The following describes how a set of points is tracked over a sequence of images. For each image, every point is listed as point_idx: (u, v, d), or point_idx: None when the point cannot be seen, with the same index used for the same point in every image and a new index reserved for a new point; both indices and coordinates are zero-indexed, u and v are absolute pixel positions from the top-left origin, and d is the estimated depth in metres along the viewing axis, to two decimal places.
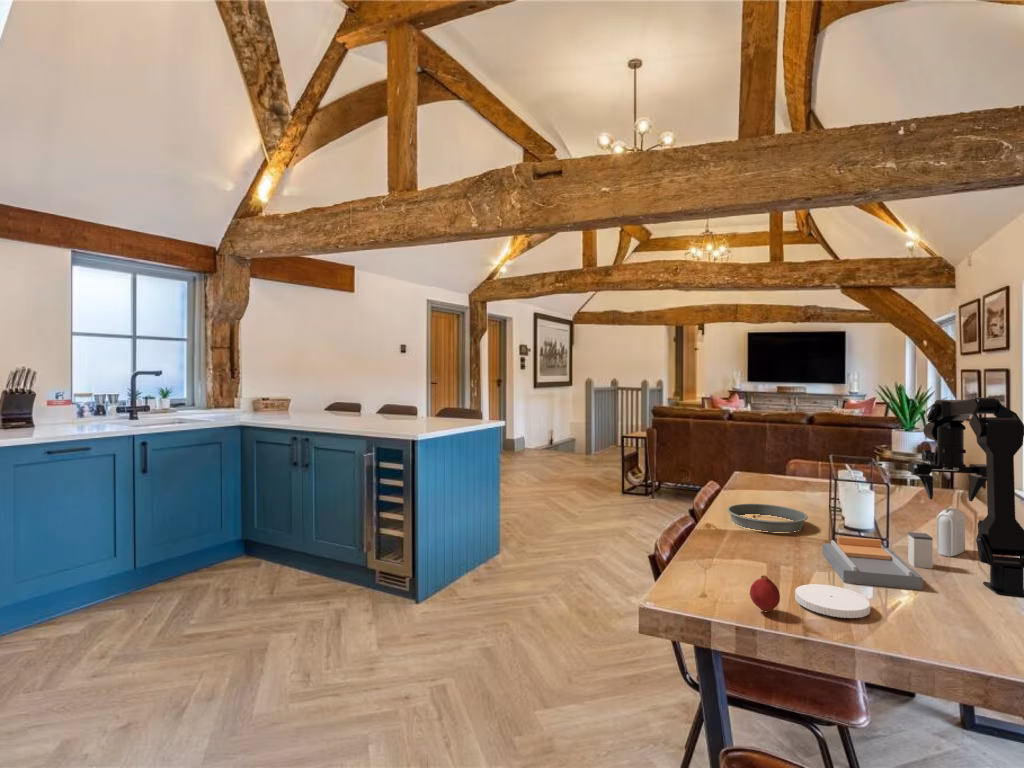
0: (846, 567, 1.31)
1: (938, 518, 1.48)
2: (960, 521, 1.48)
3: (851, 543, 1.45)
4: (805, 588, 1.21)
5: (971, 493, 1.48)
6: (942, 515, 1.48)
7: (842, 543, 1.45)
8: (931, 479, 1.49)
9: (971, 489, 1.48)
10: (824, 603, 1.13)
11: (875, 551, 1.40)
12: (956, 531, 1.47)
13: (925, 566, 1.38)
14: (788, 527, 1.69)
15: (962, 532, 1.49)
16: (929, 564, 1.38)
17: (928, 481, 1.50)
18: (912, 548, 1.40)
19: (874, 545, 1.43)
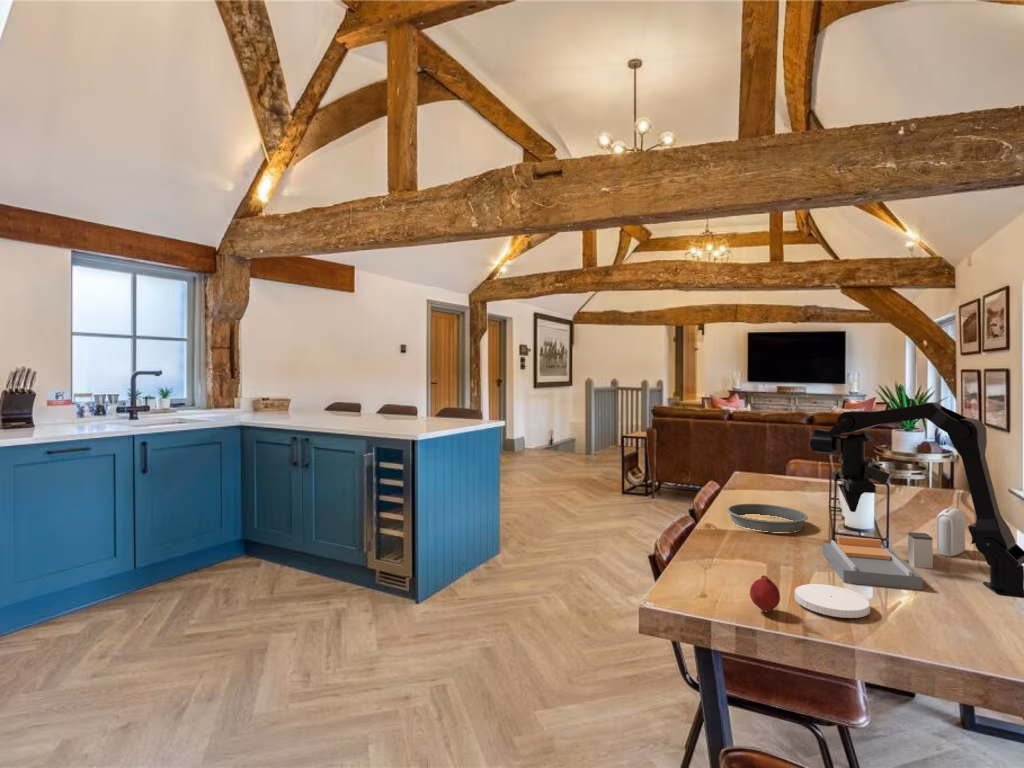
0: (846, 567, 1.31)
1: (938, 518, 1.48)
2: (960, 521, 1.48)
3: (851, 543, 1.45)
4: (805, 588, 1.21)
5: None
6: (942, 515, 1.48)
7: (842, 543, 1.45)
8: (840, 488, 1.52)
9: None
10: (824, 602, 1.13)
11: (875, 551, 1.40)
12: (956, 531, 1.47)
13: (925, 566, 1.38)
14: (788, 527, 1.69)
15: (962, 532, 1.49)
16: (929, 564, 1.38)
17: (841, 490, 1.52)
18: (912, 548, 1.40)
19: (874, 545, 1.43)
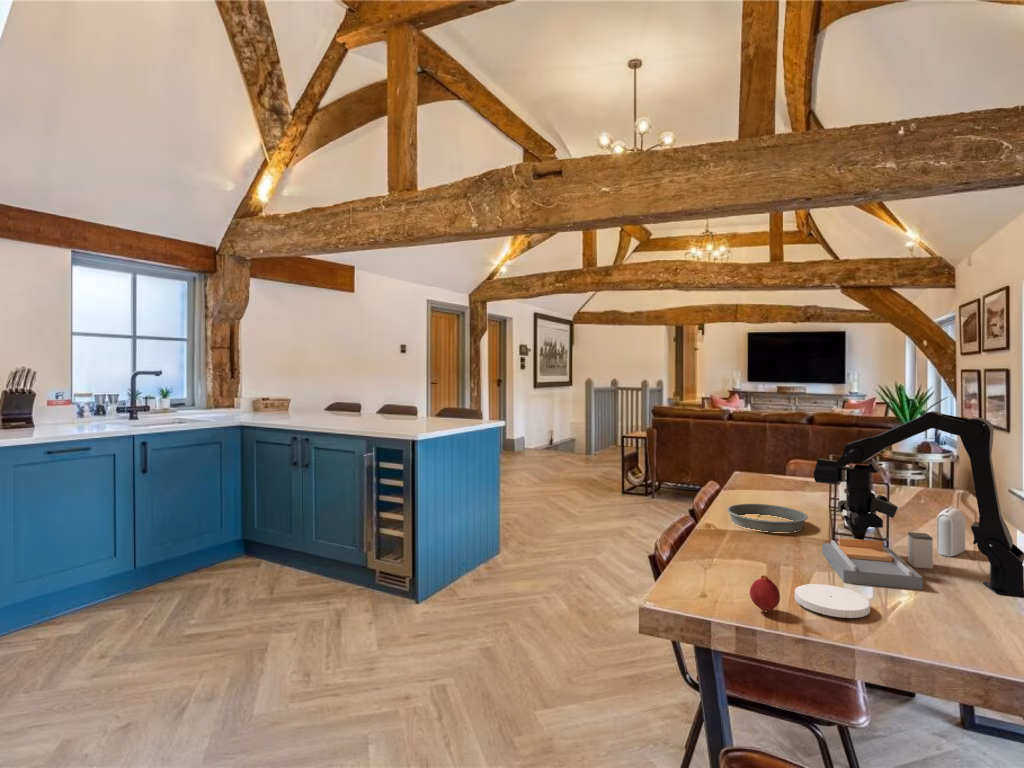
0: (846, 567, 1.31)
1: (938, 518, 1.48)
2: (960, 521, 1.48)
3: (853, 545, 1.43)
4: (805, 588, 1.21)
5: None
6: (942, 515, 1.48)
7: (843, 544, 1.44)
8: (846, 521, 1.47)
9: None
10: (824, 602, 1.13)
11: (877, 552, 1.38)
12: (956, 531, 1.47)
13: (925, 566, 1.38)
14: (788, 527, 1.69)
15: (962, 532, 1.49)
16: (929, 564, 1.38)
17: (846, 522, 1.47)
18: (912, 548, 1.40)
19: (876, 547, 1.42)
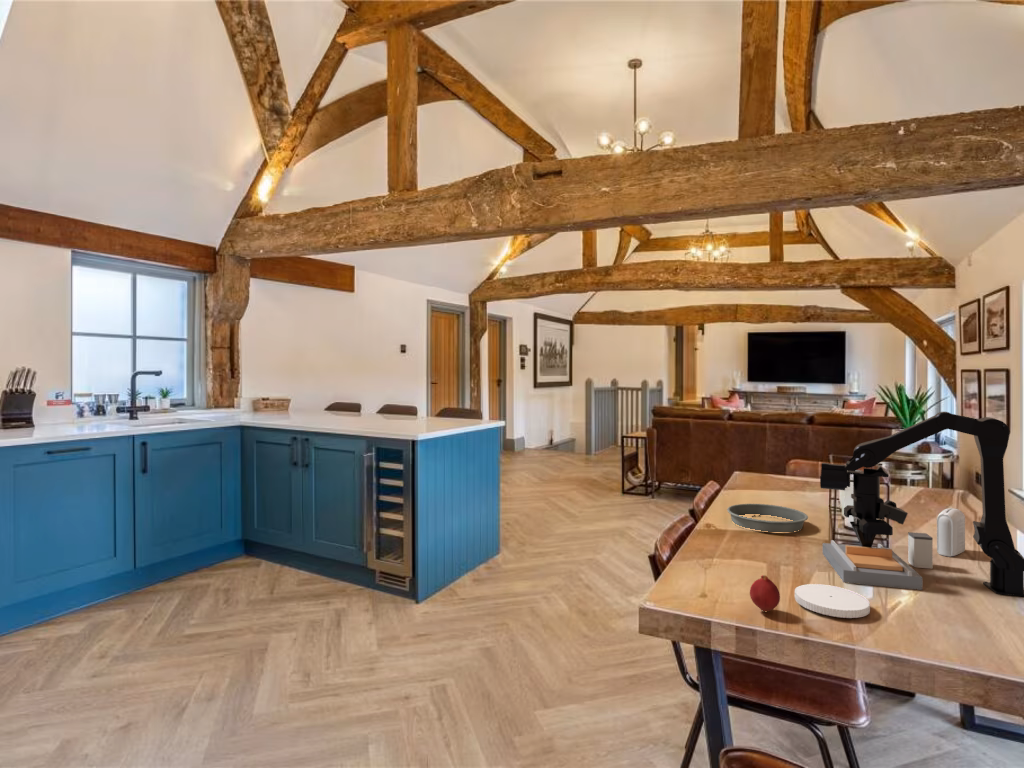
0: (846, 567, 1.31)
1: (938, 518, 1.48)
2: (960, 521, 1.48)
3: (861, 553, 1.37)
4: (805, 588, 1.21)
5: None
6: (942, 515, 1.48)
7: (850, 553, 1.37)
8: (853, 527, 1.40)
9: None
10: (824, 602, 1.13)
11: (886, 561, 1.32)
12: (956, 531, 1.47)
13: (925, 566, 1.38)
14: (788, 527, 1.69)
15: (962, 532, 1.49)
16: (929, 564, 1.38)
17: None
18: (912, 548, 1.40)
19: (884, 555, 1.35)
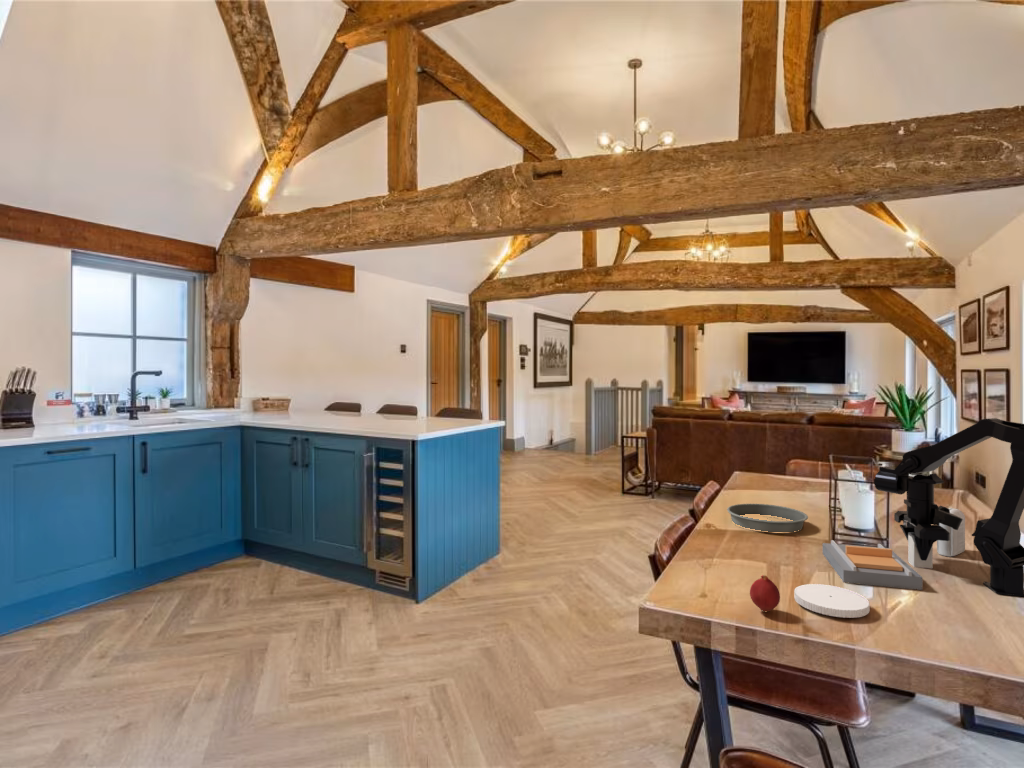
0: (846, 567, 1.31)
1: None
2: None
3: (861, 553, 1.37)
4: (804, 588, 1.21)
5: None
6: None
7: (850, 553, 1.37)
8: (903, 530, 1.44)
9: None
10: (823, 602, 1.13)
11: (886, 561, 1.32)
12: (956, 531, 1.47)
13: (925, 566, 1.38)
14: (788, 527, 1.69)
15: (962, 532, 1.49)
16: (929, 564, 1.38)
17: (903, 532, 1.45)
18: (912, 548, 1.40)
19: (884, 555, 1.35)
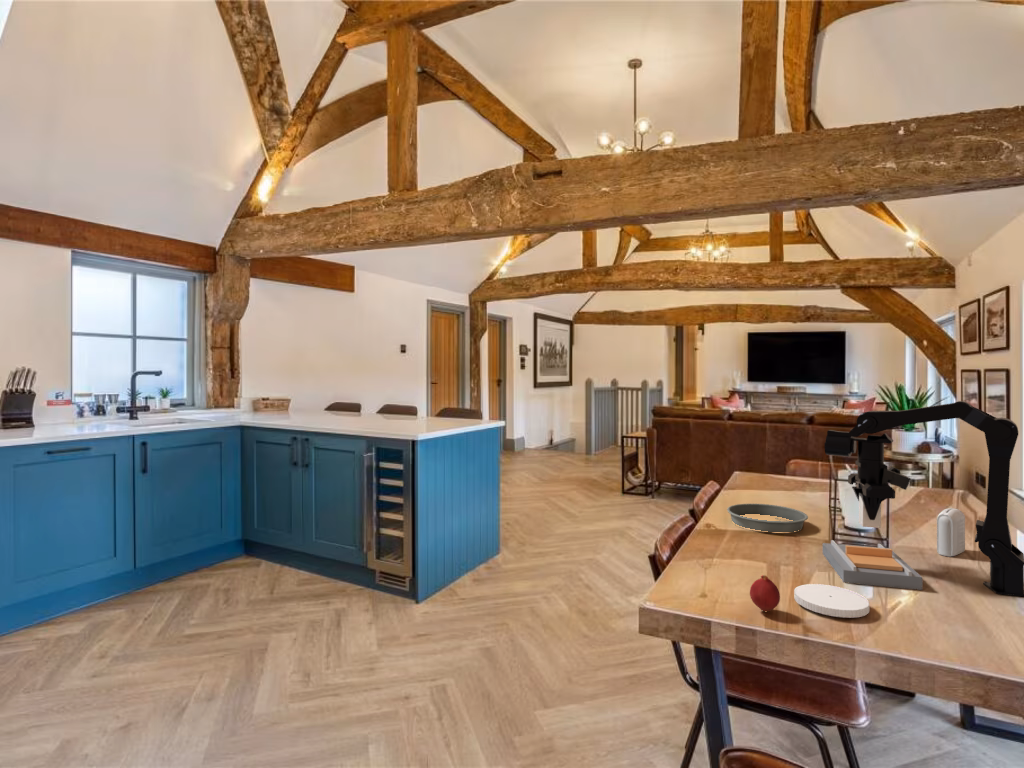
0: (846, 567, 1.31)
1: (938, 518, 1.48)
2: (960, 521, 1.48)
3: (861, 553, 1.37)
4: (804, 588, 1.21)
5: None
6: (942, 515, 1.48)
7: (850, 553, 1.37)
8: (855, 491, 1.45)
9: None
10: (823, 602, 1.13)
11: (886, 561, 1.32)
12: (956, 531, 1.47)
13: (873, 525, 1.39)
14: (788, 527, 1.69)
15: (962, 532, 1.49)
16: (877, 523, 1.39)
17: (855, 493, 1.45)
18: (861, 508, 1.41)
19: (884, 555, 1.35)
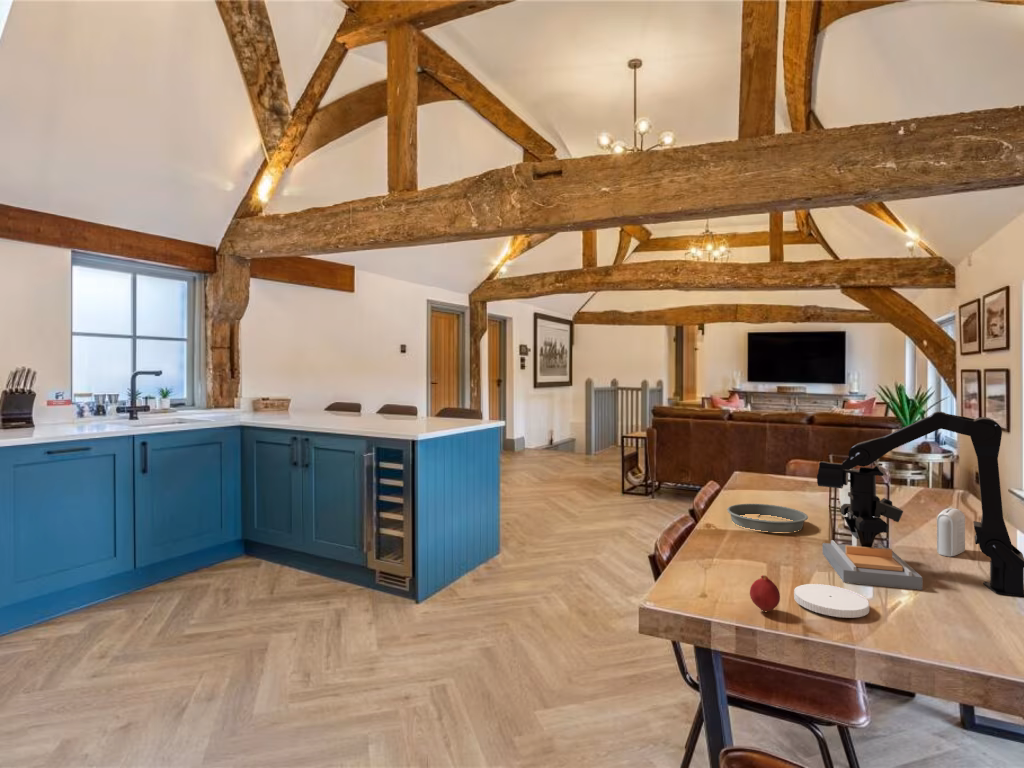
0: (846, 567, 1.31)
1: (938, 518, 1.48)
2: (960, 521, 1.48)
3: (861, 553, 1.37)
4: (804, 588, 1.21)
5: None
6: (942, 515, 1.48)
7: (850, 553, 1.37)
8: (847, 522, 1.46)
9: None
10: (823, 602, 1.13)
11: (886, 561, 1.32)
12: (956, 531, 1.47)
13: None
14: (788, 527, 1.69)
15: (962, 532, 1.49)
16: None
17: (847, 524, 1.46)
18: None
19: (884, 555, 1.35)
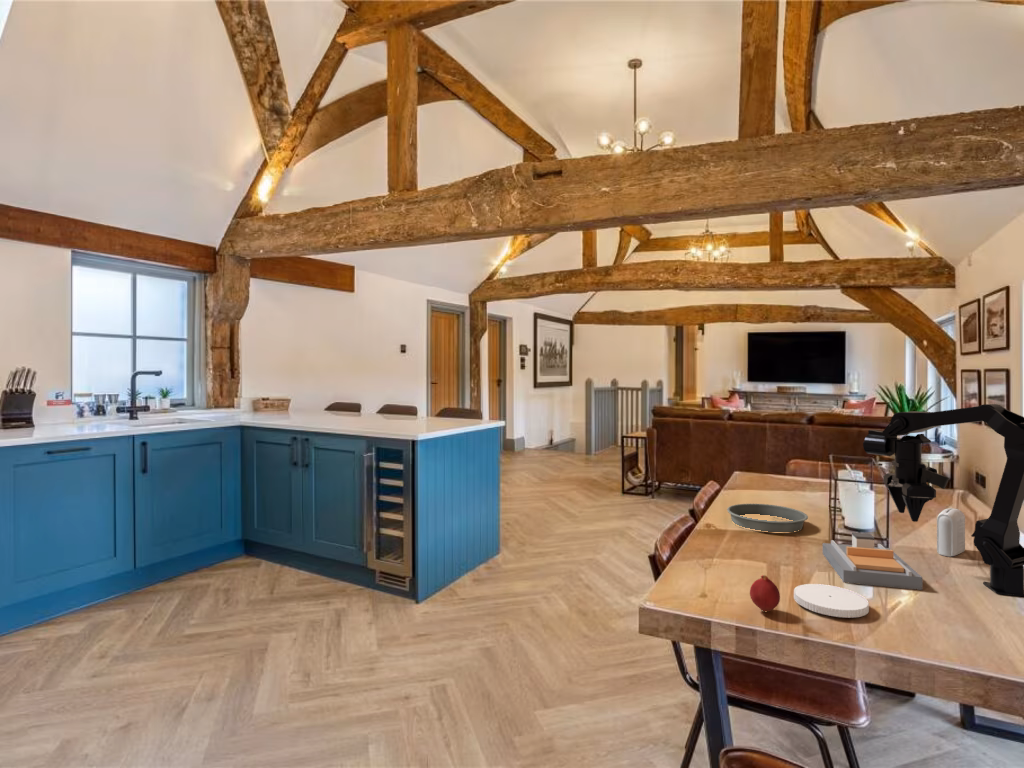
0: (846, 567, 1.31)
1: (938, 518, 1.48)
2: (960, 521, 1.48)
3: (862, 554, 1.36)
4: (804, 588, 1.21)
5: None
6: (942, 515, 1.48)
7: (851, 554, 1.37)
8: (889, 489, 1.49)
9: None
10: (823, 602, 1.13)
11: (887, 562, 1.31)
12: (956, 531, 1.47)
13: None
14: (788, 527, 1.69)
15: (962, 532, 1.49)
16: None
17: (889, 491, 1.49)
18: None
19: (886, 556, 1.34)
